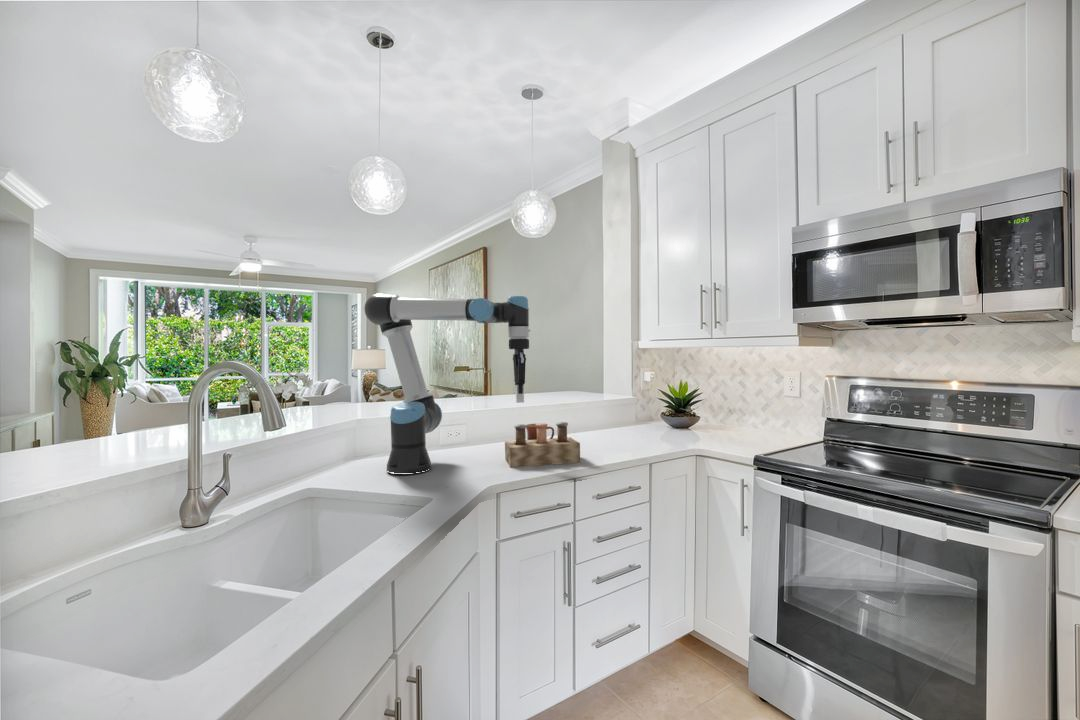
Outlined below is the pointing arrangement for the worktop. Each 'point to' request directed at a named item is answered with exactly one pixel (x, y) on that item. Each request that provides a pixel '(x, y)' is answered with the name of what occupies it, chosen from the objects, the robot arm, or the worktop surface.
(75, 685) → the worktop surface
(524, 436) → the plug near
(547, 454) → the socket board
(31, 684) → the worktop surface
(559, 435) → the plug far
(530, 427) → the mug
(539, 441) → the plug mid
